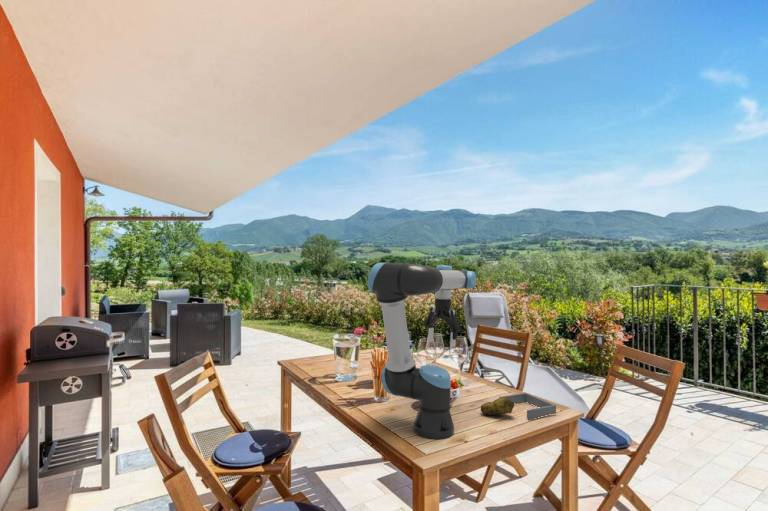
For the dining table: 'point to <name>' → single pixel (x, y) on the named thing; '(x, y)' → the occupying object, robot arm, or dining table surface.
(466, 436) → the dining table surface
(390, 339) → the robot arm
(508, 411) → the potato
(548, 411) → the box
